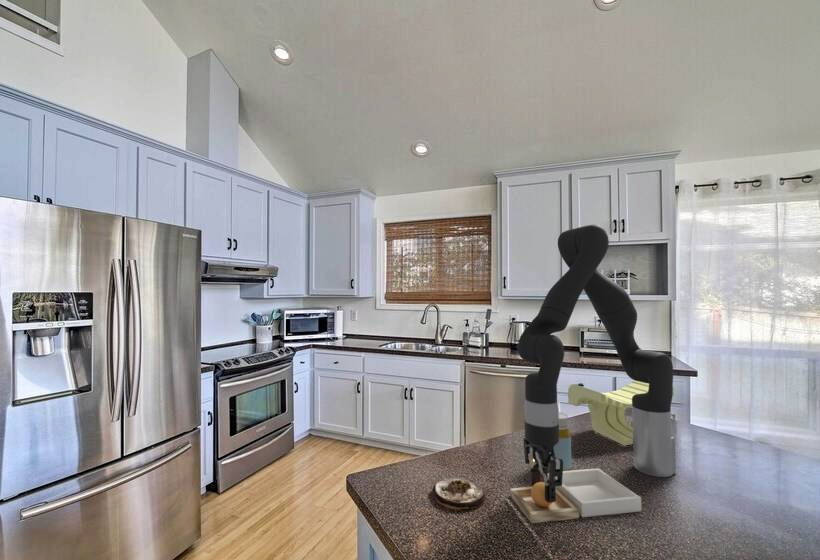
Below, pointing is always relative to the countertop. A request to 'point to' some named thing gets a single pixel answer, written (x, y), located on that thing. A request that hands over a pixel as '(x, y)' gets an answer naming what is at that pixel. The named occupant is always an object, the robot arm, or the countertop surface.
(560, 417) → the bottle
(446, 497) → the sushi roll
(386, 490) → the countertop surface
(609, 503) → the dish
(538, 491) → the ball
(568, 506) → the tray
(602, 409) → the pale yellow ridged piece
